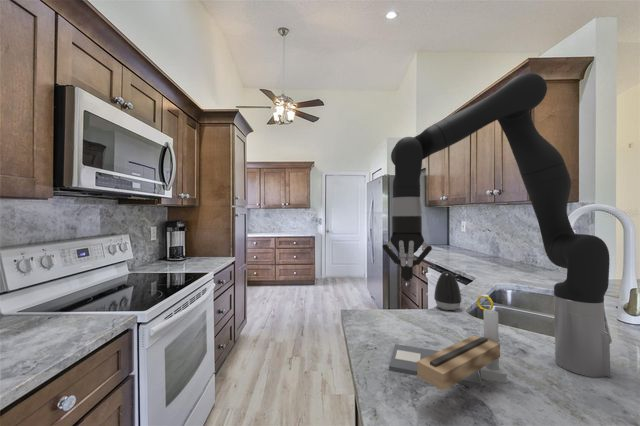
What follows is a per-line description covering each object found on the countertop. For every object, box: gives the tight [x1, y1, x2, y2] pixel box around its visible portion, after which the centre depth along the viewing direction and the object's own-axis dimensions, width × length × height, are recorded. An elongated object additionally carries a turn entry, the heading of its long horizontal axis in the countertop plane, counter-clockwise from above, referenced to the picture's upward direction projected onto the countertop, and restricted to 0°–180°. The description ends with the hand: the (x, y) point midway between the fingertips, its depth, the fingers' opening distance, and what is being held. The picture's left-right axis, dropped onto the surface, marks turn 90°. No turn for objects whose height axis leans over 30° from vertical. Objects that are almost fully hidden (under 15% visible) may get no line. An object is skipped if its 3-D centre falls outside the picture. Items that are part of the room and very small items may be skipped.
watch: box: [476, 294, 494, 311], centre depth 114 cm, size 6×3×6 cm, turn 30°
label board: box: [388, 309, 508, 389], centre depth 70 cm, size 26×13×15 cm, turn 68°
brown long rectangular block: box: [416, 334, 501, 392], centre depth 59 cm, size 22×6×4 cm, turn 124°
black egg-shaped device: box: [433, 271, 462, 311], centre depth 116 cm, size 10×10×15 cm
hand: (407, 280), depth 74 cm, fingers closed
